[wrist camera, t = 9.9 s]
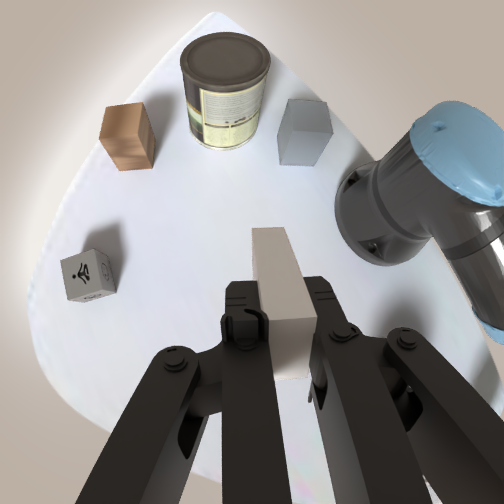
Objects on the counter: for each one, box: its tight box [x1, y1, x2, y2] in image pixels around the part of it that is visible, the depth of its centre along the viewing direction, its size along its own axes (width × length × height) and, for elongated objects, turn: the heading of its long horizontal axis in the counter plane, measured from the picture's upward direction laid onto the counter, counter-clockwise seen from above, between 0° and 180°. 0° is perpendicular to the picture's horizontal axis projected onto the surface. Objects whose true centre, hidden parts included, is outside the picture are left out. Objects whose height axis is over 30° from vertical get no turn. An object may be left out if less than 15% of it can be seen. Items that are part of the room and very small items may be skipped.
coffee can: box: [180, 32, 271, 151], centre depth 36 cm, size 10×10×14 cm
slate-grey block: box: [277, 99, 333, 166], centre depth 39 cm, size 5×5×9 cm
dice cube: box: [60, 249, 116, 303], centre depth 34 cm, size 5×5×5 cm
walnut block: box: [99, 102, 155, 171], centre depth 36 cm, size 5×5×9 cm
